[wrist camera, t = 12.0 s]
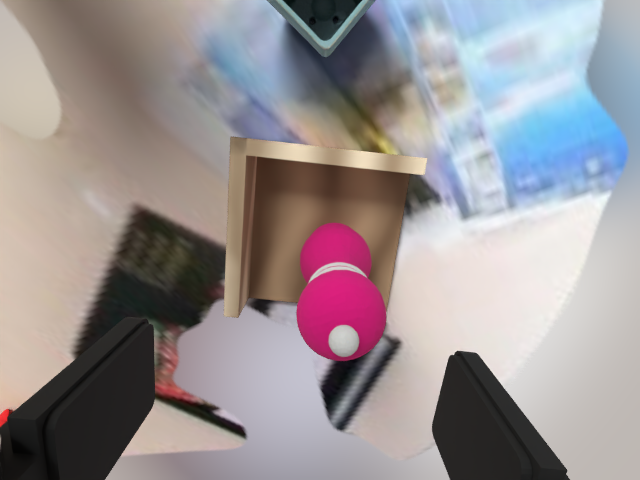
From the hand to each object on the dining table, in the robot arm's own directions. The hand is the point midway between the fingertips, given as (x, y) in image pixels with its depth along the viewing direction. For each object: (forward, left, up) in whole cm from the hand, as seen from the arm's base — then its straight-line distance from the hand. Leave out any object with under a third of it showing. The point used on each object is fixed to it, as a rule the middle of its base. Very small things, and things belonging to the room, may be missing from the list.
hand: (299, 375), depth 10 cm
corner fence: (0, -2, -28) cm, 28 cm away
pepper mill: (+2, -4, -27) cm, 28 cm away
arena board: (0, -2, -28) cm, 28 cm away
